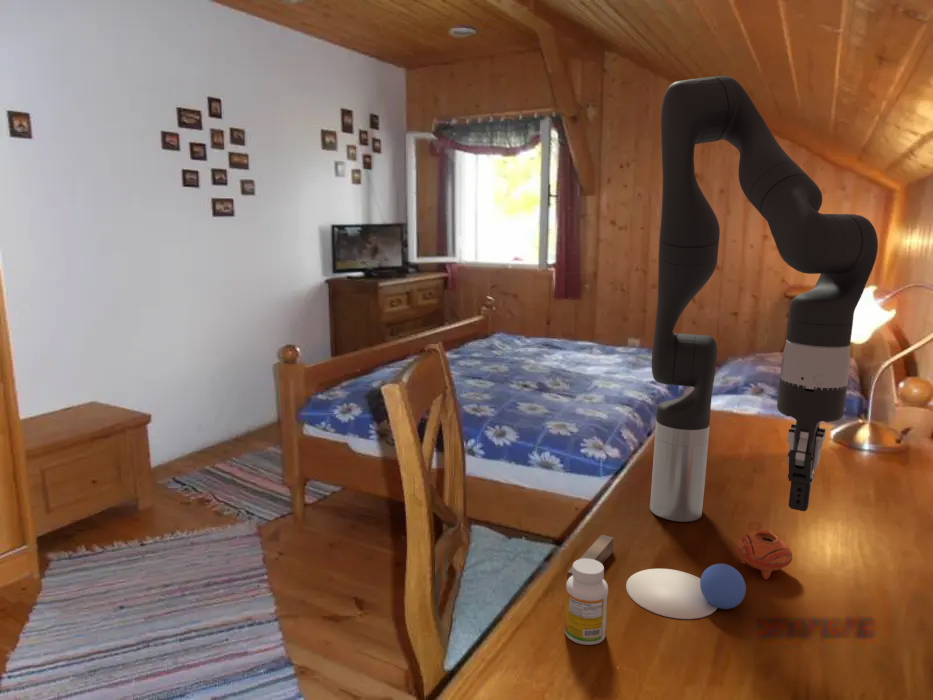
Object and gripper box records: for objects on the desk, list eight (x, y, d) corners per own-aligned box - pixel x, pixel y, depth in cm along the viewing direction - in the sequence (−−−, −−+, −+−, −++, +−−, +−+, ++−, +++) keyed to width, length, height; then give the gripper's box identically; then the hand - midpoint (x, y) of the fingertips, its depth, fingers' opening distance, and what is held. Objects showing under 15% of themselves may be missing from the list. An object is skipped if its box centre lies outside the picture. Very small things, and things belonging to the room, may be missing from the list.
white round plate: (642, 561, 108) (642, 560, 108) (728, 585, 101) (728, 584, 101) (613, 600, 97) (613, 599, 97) (707, 630, 90) (707, 628, 90)
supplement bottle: (577, 616, 93) (580, 551, 91) (613, 632, 90) (617, 564, 88) (556, 635, 89) (559, 566, 87) (592, 652, 86) (596, 581, 84)
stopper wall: (601, 548, 112) (601, 534, 111) (612, 551, 111) (613, 537, 110) (566, 587, 100) (567, 571, 100) (579, 591, 99) (580, 575, 99)
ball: (756, 572, 96) (744, 613, 96) (714, 555, 100) (703, 595, 100) (743, 575, 91) (731, 619, 91) (700, 557, 95) (688, 599, 95)
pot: (762, 551, 111) (774, 518, 108) (794, 586, 104) (808, 551, 102) (720, 555, 109) (731, 521, 106) (750, 591, 102) (763, 556, 99)
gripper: (787, 364, 92) (774, 484, 96) (772, 384, 81) (758, 520, 84) (850, 371, 88) (834, 497, 92) (844, 394, 77) (826, 535, 81)
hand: (798, 508), depth 88 cm, fingers closed
